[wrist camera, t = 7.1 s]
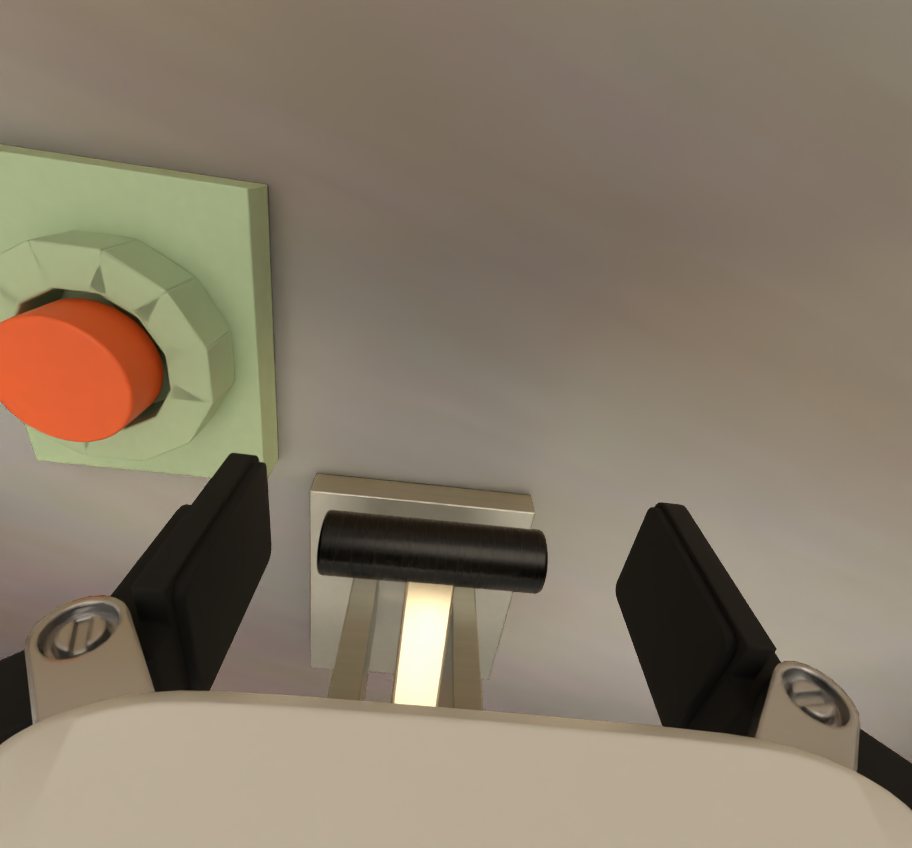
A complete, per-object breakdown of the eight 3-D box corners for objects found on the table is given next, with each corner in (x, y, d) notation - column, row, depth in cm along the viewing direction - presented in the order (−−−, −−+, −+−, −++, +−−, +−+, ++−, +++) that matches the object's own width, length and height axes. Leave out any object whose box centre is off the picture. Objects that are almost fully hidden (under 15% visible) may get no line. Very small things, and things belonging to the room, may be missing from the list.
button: (15, 288, 13) (-42, 306, 12) (155, 306, 13) (117, 325, 12) (50, 406, 15) (4, 435, 13) (173, 420, 15) (142, 450, 14)
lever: (335, 492, 12) (312, 536, 10) (533, 512, 12) (558, 558, 10) (304, 871, 15) (281, 978, 12) (469, 877, 15) (477, 981, 13)
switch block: (-15, 142, 14) (-142, 138, 11) (267, 184, 15) (221, 192, 12) (68, 436, 19) (-5, 491, 16) (278, 458, 20) (247, 515, 16)
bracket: (316, 472, 20) (151, 880, 9) (530, 494, 21) (633, 895, 10) (315, 646, 25) (212, 1041, 14) (486, 659, 26) (518, 1042, 15)
